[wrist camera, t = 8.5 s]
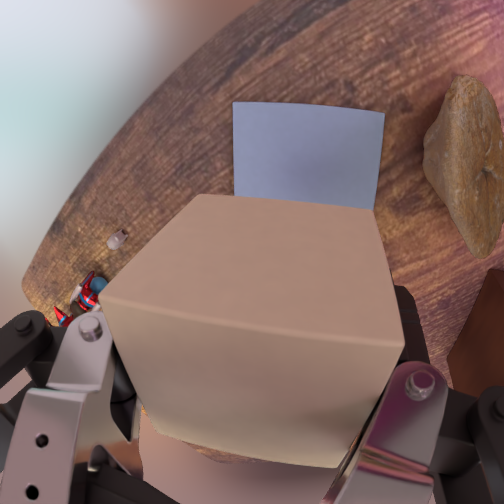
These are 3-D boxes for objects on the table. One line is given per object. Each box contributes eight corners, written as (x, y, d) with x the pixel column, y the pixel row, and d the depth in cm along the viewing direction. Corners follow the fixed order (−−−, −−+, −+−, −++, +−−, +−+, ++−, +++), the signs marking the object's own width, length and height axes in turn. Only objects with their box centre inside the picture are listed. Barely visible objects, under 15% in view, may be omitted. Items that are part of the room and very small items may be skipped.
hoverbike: (62, 307, 33) (35, 337, 28) (91, 254, 27) (54, 288, 22) (92, 336, 34) (68, 367, 29) (130, 291, 28) (98, 330, 23)
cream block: (198, 192, 9) (94, 295, 5) (373, 208, 8) (407, 344, 4) (210, 320, 12) (155, 433, 7) (344, 339, 11) (336, 469, 6)
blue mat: (234, 101, 18) (232, 102, 17) (383, 112, 16) (385, 113, 16) (236, 232, 22) (235, 234, 22) (365, 246, 20) (366, 249, 20)
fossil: (486, 289, 14) (439, 132, 9) (428, 272, 17) (356, 138, 13) (522, 184, 15) (480, 48, 11) (473, 179, 19) (421, 58, 14)
